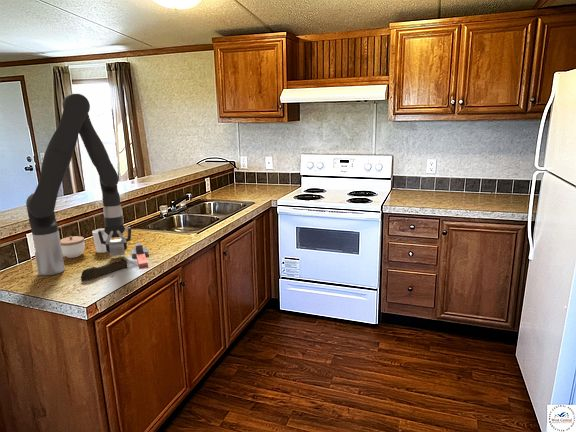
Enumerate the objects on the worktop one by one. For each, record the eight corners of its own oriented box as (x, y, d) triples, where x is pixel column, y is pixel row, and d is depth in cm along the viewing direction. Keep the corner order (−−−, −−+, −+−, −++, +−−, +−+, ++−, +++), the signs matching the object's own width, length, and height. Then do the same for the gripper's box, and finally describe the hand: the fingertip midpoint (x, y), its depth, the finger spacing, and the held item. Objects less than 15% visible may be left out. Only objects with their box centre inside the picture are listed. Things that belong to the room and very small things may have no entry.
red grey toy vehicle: (134, 268, 168) (133, 257, 167) (131, 253, 187) (130, 243, 186) (152, 265, 171) (151, 254, 170) (147, 251, 190) (145, 241, 188)
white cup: (109, 246, 197) (106, 227, 194) (115, 250, 191) (113, 230, 189) (92, 250, 192) (89, 230, 189) (98, 254, 186) (95, 234, 184)
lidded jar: (82, 258, 181) (79, 238, 179) (56, 260, 179) (53, 240, 177) (89, 250, 191) (86, 232, 189) (65, 252, 190) (62, 233, 187)
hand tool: (123, 266, 172) (122, 256, 171) (128, 268, 170) (127, 258, 168) (78, 280, 158) (76, 269, 157) (83, 283, 155) (81, 272, 154)
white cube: (110, 256, 177) (108, 243, 175) (109, 252, 182) (108, 239, 181) (124, 254, 179) (123, 241, 178) (124, 250, 185) (122, 238, 183)
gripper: (95, 218, 170) (99, 256, 174) (131, 215, 176) (134, 251, 180) (95, 214, 177) (99, 250, 181) (129, 211, 183) (133, 246, 187)
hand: (117, 251), depth 180 cm, fingers closed on white cube, 6 cm apart
